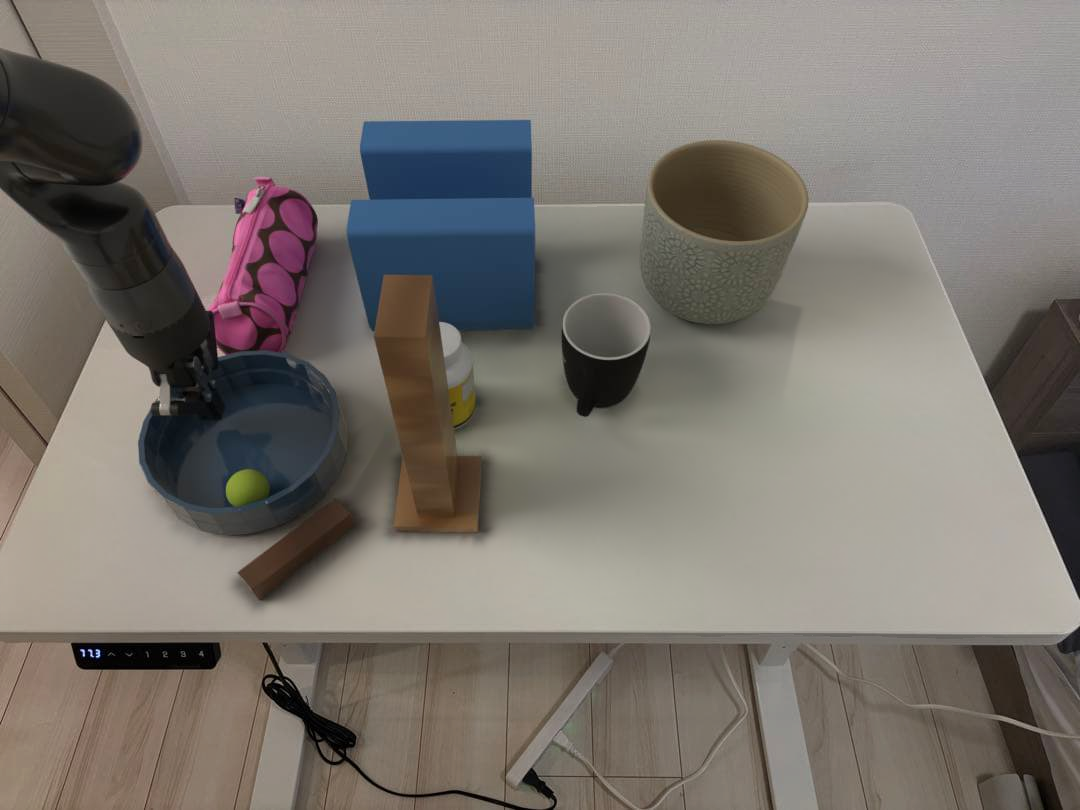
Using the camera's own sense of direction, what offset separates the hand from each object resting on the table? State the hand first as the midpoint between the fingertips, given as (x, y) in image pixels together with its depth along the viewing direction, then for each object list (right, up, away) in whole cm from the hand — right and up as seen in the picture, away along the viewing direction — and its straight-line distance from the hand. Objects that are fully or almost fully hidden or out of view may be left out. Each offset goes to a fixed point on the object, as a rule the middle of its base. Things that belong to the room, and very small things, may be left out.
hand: (213, 414), depth 82 cm
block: (+24, +14, +14) cm, 31 cm away
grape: (+5, -7, -5) cm, 10 cm away
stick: (+11, -12, -8) cm, 18 cm away
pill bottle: (+23, 0, +4) cm, 24 cm away
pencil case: (+2, +14, +13) cm, 19 cm away
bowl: (+4, -4, +1) cm, 6 cm away
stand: (+24, -8, -2) cm, 25 cm away
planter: (+53, +15, +15) cm, 57 cm away
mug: (+40, +2, +5) cm, 40 cm away
